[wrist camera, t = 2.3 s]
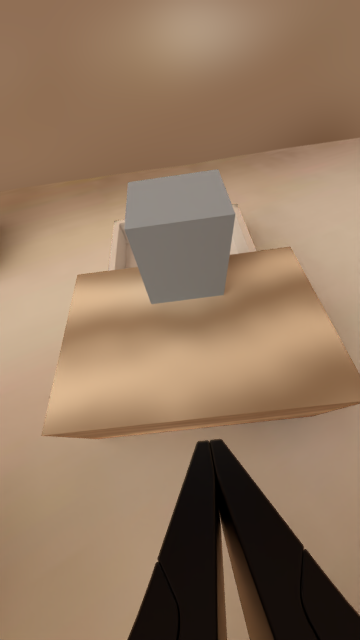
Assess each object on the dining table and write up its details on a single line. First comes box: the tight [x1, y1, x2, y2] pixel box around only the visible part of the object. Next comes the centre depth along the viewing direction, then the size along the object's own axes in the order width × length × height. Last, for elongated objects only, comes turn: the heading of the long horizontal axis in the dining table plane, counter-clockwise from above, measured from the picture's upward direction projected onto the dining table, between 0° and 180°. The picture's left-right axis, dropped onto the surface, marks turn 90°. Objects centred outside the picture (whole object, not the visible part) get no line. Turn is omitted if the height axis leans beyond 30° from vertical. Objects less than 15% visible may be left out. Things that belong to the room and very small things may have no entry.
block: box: [124, 169, 235, 304], centre depth 16 cm, size 5×6×7 cm
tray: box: [108, 204, 256, 271], centre depth 28 cm, size 15×18×4 cm
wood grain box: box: [41, 247, 360, 439], centre depth 19 cm, size 13×20×8 cm
